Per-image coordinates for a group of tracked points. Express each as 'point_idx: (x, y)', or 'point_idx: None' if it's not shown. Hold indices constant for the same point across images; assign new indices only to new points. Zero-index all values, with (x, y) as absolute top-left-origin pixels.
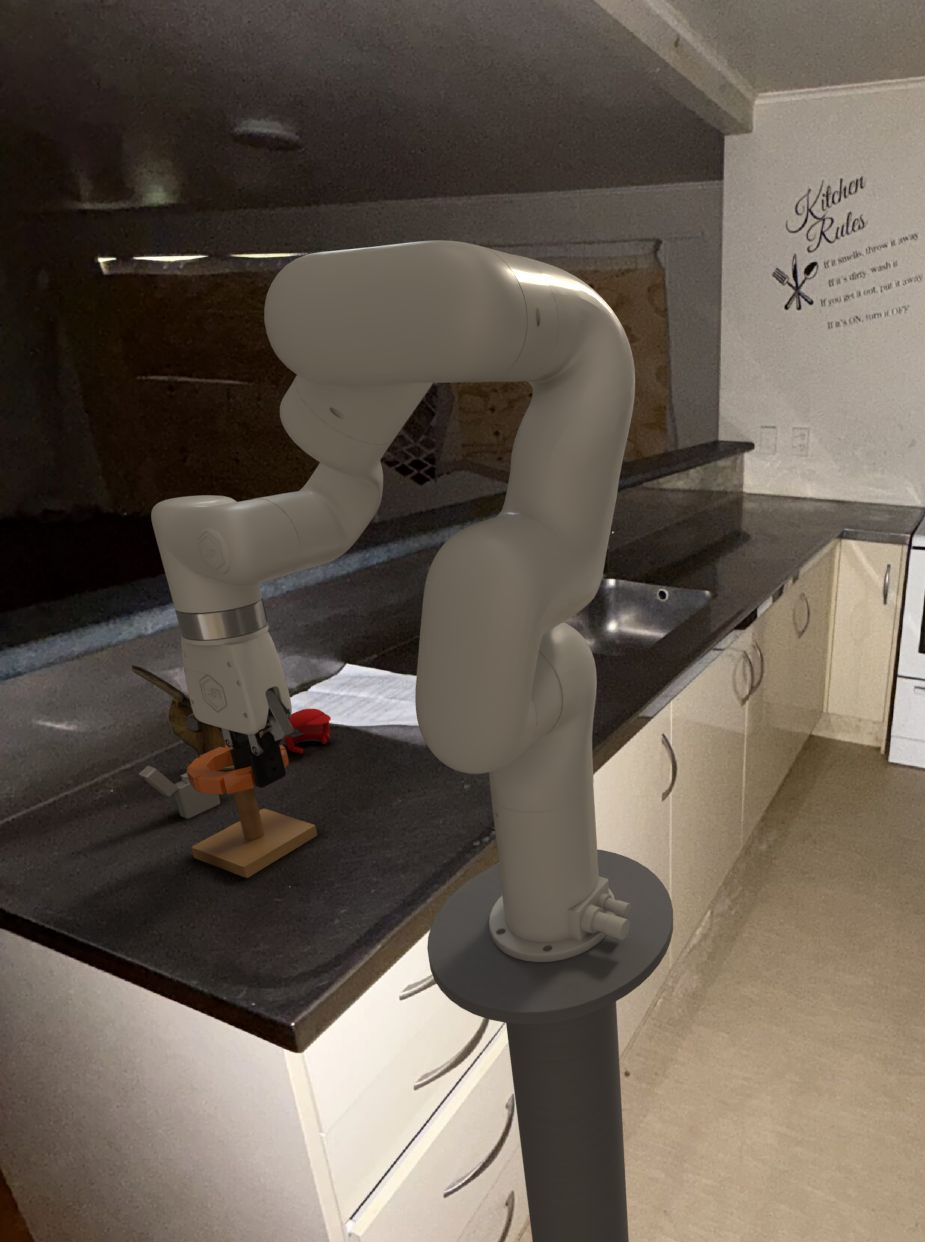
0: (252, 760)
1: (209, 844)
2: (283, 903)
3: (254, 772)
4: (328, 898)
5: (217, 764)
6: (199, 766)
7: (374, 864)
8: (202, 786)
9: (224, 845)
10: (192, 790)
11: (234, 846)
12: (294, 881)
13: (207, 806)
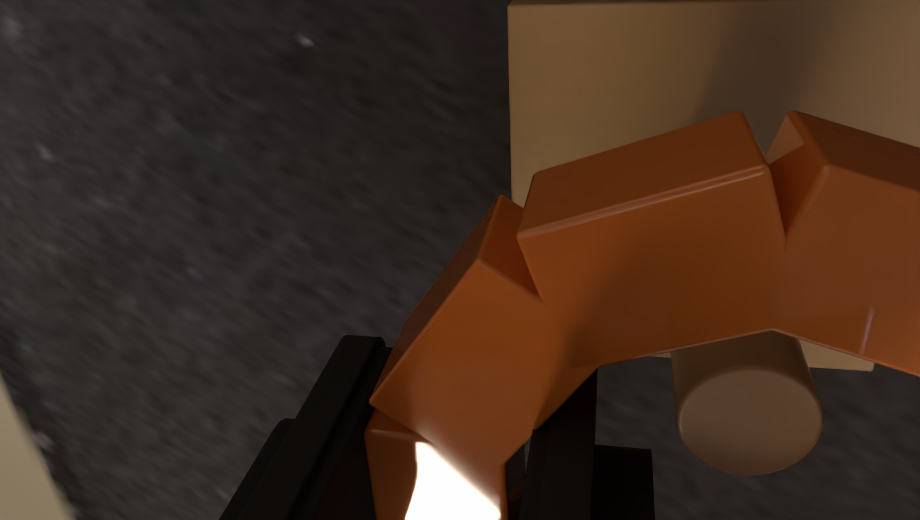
0: (253, 506)
1: (869, 56)
2: None
3: (310, 414)
4: (118, 54)
5: None
6: None
7: (179, 261)
8: (710, 146)
9: (778, 85)
10: None
11: (716, 100)
12: (322, 72)
13: None
